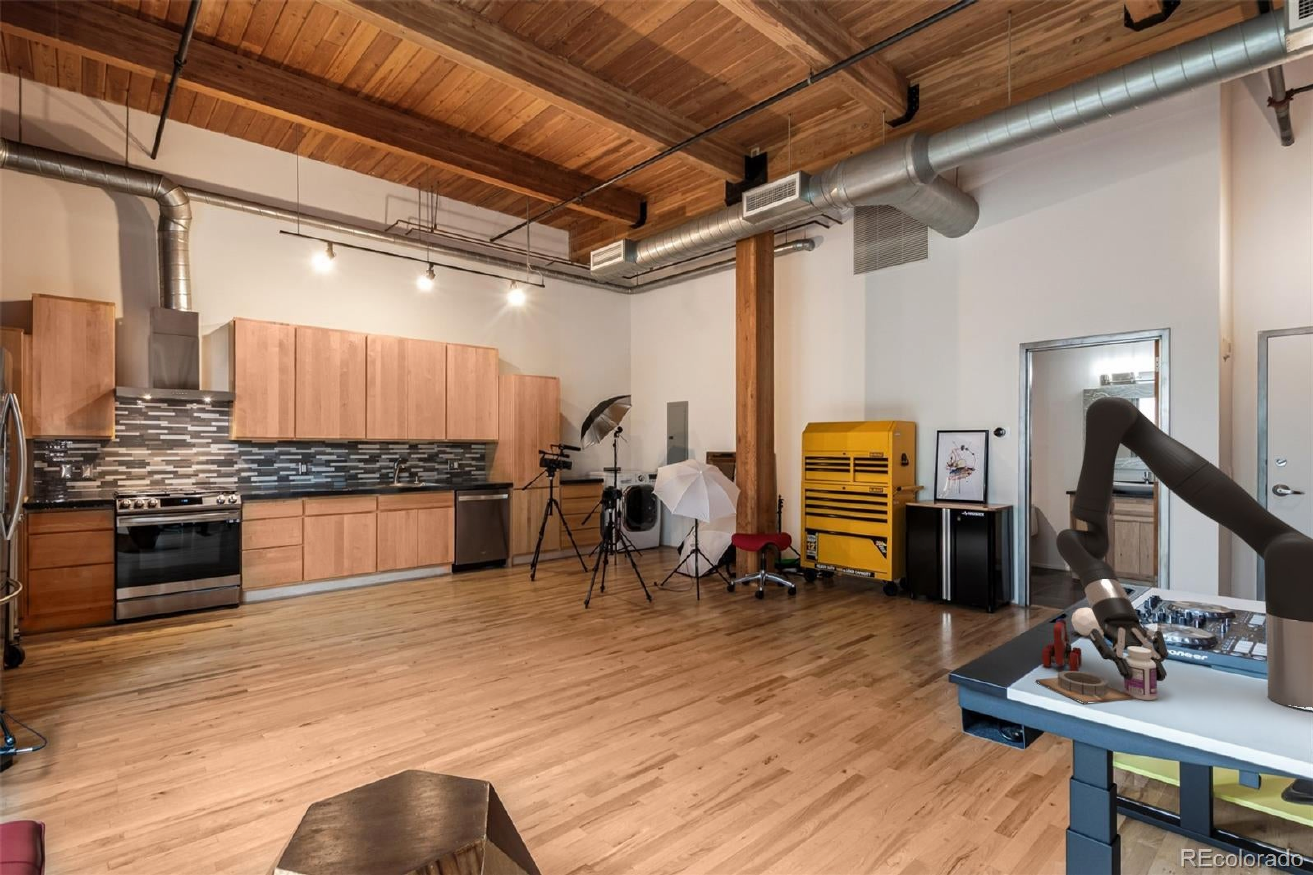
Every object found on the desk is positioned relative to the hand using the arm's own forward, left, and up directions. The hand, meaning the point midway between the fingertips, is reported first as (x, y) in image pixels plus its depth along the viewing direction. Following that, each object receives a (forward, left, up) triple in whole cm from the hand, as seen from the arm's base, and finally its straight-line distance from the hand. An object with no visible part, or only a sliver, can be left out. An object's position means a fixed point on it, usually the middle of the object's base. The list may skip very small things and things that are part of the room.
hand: (1145, 678), depth 127 cm
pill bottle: (-1, -2, -4) cm, 5 cm away
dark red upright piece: (0, -20, -5) cm, 21 cm away
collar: (+8, -7, -4) cm, 12 cm away
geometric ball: (-26, -38, -5) cm, 46 cm away
